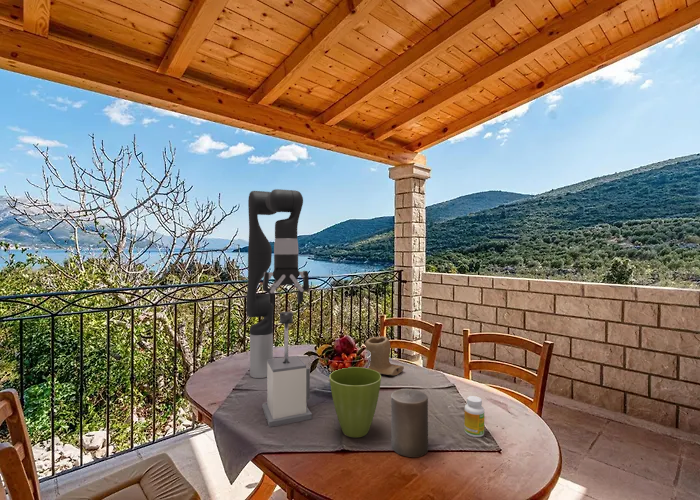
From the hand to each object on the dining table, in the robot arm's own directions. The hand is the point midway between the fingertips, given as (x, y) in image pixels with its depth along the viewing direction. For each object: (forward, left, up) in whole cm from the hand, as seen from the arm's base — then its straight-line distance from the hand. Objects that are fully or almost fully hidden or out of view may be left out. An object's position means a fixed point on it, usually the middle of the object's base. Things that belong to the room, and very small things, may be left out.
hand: (286, 304), depth 112 cm
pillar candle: (+31, +26, -35) cm, 54 cm away
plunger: (0, 0, -22) cm, 22 cm away
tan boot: (-20, +45, -35) cm, 60 cm away
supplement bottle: (+32, +47, -35) cm, 67 cm away
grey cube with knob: (0, 0, -35) cm, 35 cm away
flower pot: (+18, +16, -35) cm, 43 cm away
